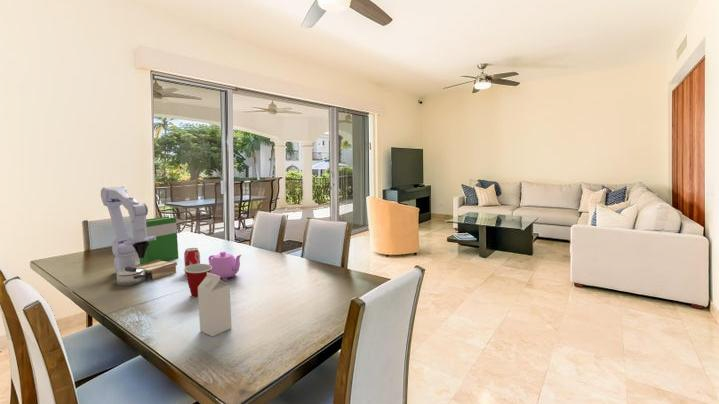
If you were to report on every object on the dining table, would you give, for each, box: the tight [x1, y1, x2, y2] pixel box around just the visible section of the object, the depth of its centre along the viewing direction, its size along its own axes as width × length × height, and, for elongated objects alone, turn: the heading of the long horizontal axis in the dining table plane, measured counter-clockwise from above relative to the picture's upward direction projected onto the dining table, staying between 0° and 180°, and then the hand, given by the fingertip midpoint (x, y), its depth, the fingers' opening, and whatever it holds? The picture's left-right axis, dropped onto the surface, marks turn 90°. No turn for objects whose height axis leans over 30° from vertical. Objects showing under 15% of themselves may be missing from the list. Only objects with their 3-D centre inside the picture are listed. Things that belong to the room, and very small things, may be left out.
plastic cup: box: [183, 263, 212, 298], centre depth 146 cm, size 11×11×12 cm
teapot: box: [208, 251, 242, 282], centre depth 168 cm, size 20×14×12 cm
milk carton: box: [197, 272, 233, 338], centre depth 115 cm, size 7×7×19 cm
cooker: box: [115, 270, 147, 287], centre depth 163 cm, size 15×11×4 cm
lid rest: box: [135, 259, 178, 280], centre depth 174 cm, size 13×13×5 cm
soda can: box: [183, 247, 201, 267], centre depth 176 cm, size 7×7×12 cm
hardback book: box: [139, 216, 179, 265], centre depth 197 cm, size 18×7×24 cm, turn 151°
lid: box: [117, 266, 144, 276], centre depth 162 cm, size 11×11×2 cm
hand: (141, 257), depth 167 cm, fingers closed
